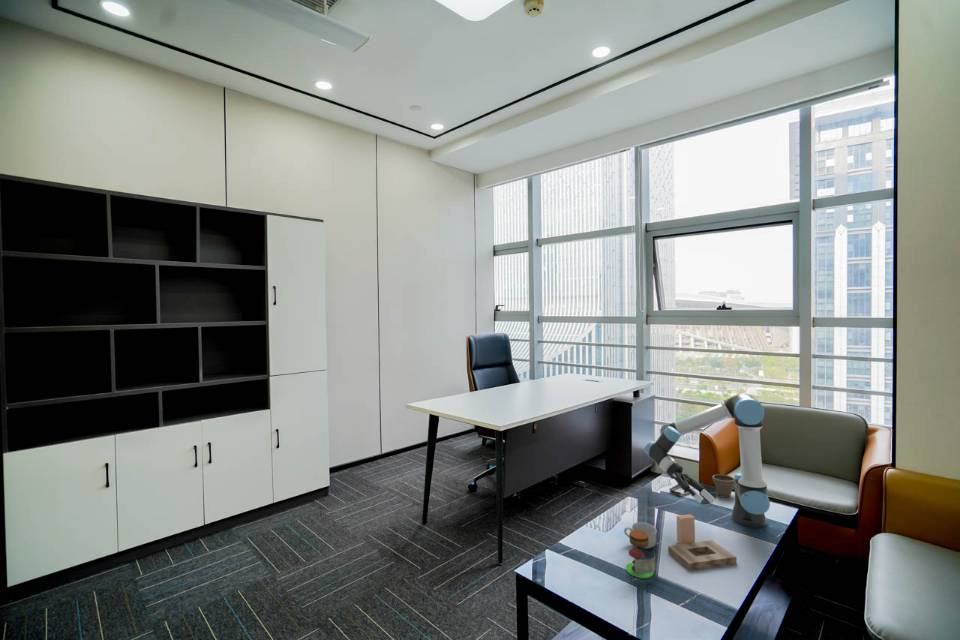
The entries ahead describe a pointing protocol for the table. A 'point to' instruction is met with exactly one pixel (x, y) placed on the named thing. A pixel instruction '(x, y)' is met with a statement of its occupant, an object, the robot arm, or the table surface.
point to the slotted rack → (692, 562)
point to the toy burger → (640, 556)
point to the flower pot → (723, 484)
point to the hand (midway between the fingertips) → (707, 501)
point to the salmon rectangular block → (685, 529)
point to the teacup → (645, 528)
